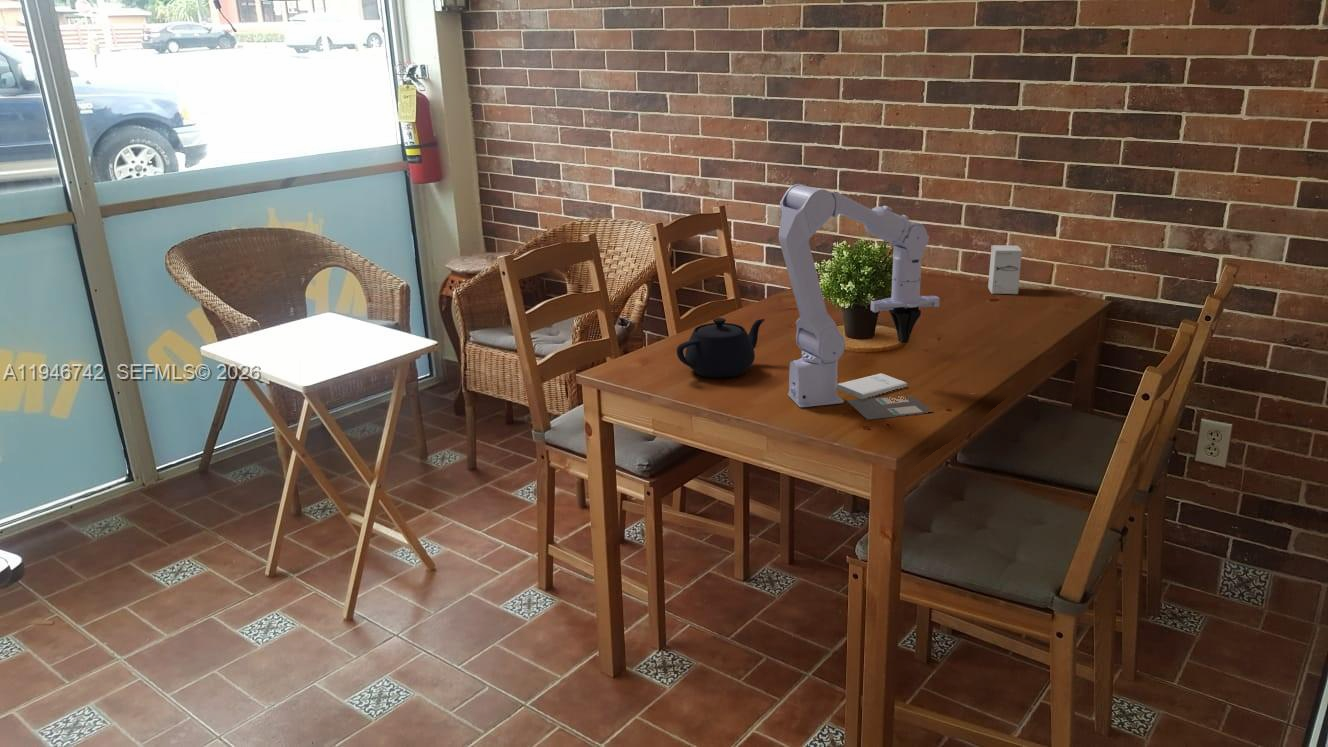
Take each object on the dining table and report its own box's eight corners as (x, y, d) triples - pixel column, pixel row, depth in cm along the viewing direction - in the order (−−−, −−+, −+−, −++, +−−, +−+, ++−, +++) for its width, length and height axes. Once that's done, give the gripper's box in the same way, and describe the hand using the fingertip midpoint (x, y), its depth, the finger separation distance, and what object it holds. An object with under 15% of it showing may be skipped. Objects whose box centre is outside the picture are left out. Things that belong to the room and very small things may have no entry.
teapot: (700, 391, 218) (699, 336, 214) (657, 373, 230) (656, 321, 226) (787, 367, 232) (787, 314, 228) (742, 351, 244) (742, 301, 240)
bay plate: (867, 419, 200) (867, 419, 200) (846, 400, 210) (846, 400, 210) (933, 412, 202) (933, 411, 202) (909, 394, 213) (909, 393, 213)
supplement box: (991, 294, 287) (994, 250, 283) (987, 287, 294) (991, 244, 290) (1018, 294, 285) (1022, 250, 281) (1014, 288, 292) (1018, 244, 288)
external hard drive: (836, 390, 218) (879, 379, 224) (862, 401, 211) (906, 389, 217) (836, 383, 217) (880, 372, 223) (862, 394, 210) (907, 382, 216)
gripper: (881, 286, 206) (878, 350, 211) (947, 280, 209) (943, 344, 213) (867, 278, 213) (865, 340, 217) (932, 273, 216) (928, 334, 220)
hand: (903, 341), depth 216 cm, fingers closed
